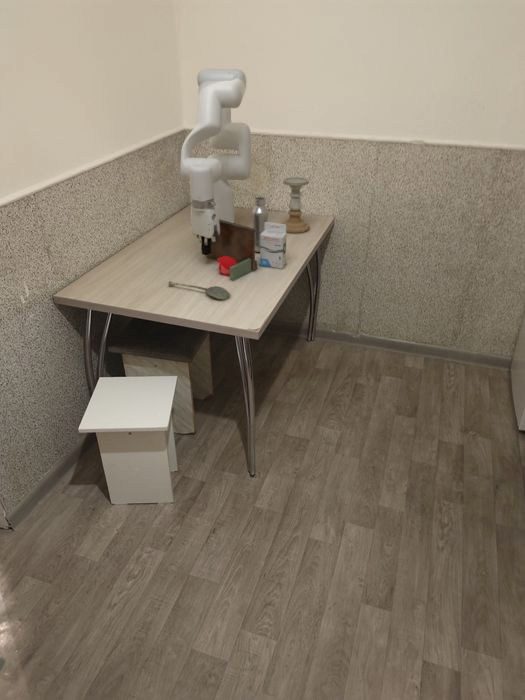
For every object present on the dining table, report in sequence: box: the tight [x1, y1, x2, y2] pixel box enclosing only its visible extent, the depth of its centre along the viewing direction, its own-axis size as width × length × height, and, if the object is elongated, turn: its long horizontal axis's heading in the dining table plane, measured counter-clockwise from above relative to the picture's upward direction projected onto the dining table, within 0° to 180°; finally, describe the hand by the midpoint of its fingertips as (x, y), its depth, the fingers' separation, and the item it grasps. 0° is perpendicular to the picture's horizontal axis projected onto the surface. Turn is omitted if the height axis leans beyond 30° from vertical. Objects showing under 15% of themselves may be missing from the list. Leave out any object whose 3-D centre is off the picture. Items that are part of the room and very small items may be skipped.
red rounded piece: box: [216, 256, 238, 276], centre depth 176 cm, size 8×6×6 cm
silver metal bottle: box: [250, 196, 269, 253], centre depth 190 cm, size 6×7×20 cm
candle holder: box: [281, 176, 310, 234], centre depth 211 cm, size 12×12×20 cm
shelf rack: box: [206, 219, 258, 281], centre depth 178 cm, size 23×13×15 cm, turn 52°
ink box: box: [259, 221, 288, 270], centre depth 180 cm, size 8×5×15 cm, turn 71°
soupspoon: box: [168, 280, 230, 301], centre depth 165 cm, size 22×3×7 cm
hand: (206, 253), depth 182 cm, fingers closed
